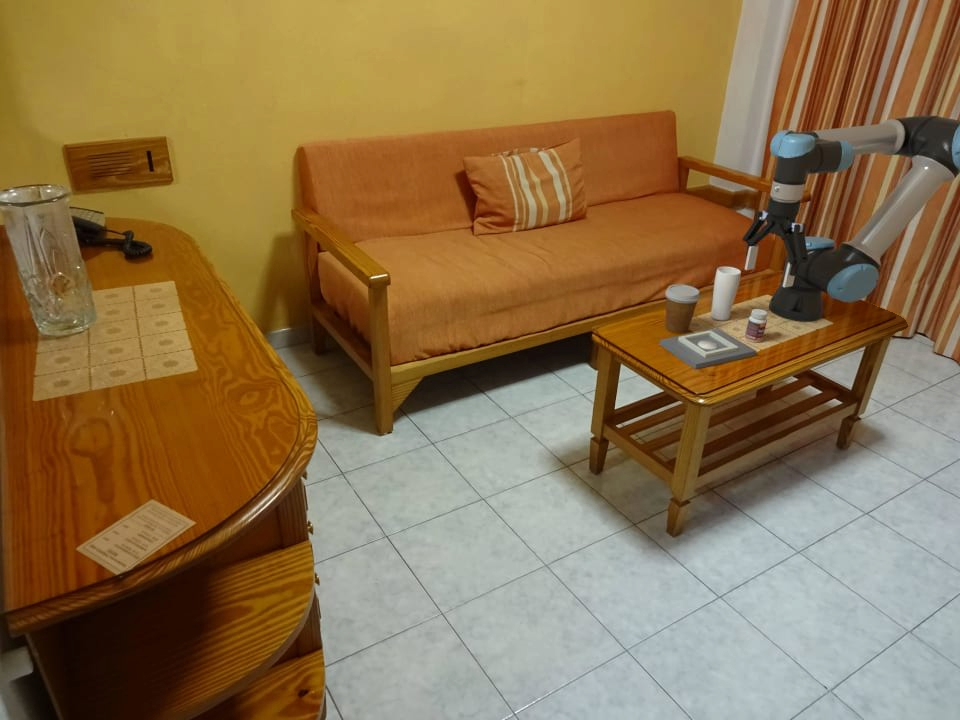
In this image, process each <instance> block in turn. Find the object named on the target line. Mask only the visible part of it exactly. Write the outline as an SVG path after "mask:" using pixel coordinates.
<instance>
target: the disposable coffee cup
mask: <svg viewBox="0 0 960 720" xmlns="http://www.w3.org/2000/svg"><path fill="white" fill-rule="evenodd" d="M664 293H665V297H666V299H665V300H666V301H665V302H666V303H665V305H666V306H665V307H666V308H665V329H666V330H667V331H668V332H670V333H674V334H686V333H688V332H689V329H690V327H691V326H690V325H691V323H692V319H693V316H694V314H695V310H696V306H697V304H698V302H699V300H700V298H701V295H700V290H699V289H698V288H696V287H694V286H691V285H687V284H672V285H669V286H668V288H667V289H666V290H665V292H664Z"/></svg>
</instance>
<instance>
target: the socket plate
mask: <svg viewBox="0 0 960 720" xmlns="http://www.w3.org/2000/svg"><path fill="white" fill-rule="evenodd" d="M660 345H661V347H662V348H663V347H664V348H663V349H665V350H666V351H668V352H669V353H671V354H672V355H674V356H676V358H678V359H679V360H681V361H683V362H684V363H685V364H686V365H688V366H689V367H691V368H693V369H694V370H698V369H702V368H706V367H707V368H708V367H712V366H716V365H721V364H725V363H729V362H734V361H738V360H742V359H746V358H750V357H751V358H752V357H755V356H756V354H757V350H756V349H754V348H752V347H750V346H749V345H747V344H745V342H744V343H743V342H742V341H740V340H739V339H737V338H736V337H734V336H732V335H730V334H729V333H726V332H725V331H724V330H721V329H720V328H718V327H716V328H712V329H707V330H706V329H705V330H701V331H698V332H692V333H688V334H683V335H682V334H681V335H677V336H672V337H668V338H663V339H660V340H659V346H660Z"/></svg>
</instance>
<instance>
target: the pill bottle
mask: <svg viewBox="0 0 960 720" xmlns="http://www.w3.org/2000/svg"><path fill="white" fill-rule="evenodd" d="M767 317H768V312H767V311H766V310H764V309H761V308H755V309H752V310H751V314H750V316H749V317H748V321H747V325H746V329H745V334H744V339H745V340H746V341H748V342H751V343H761V342H762V341H763V339H764V336H765V331H766V327H767V323H768V320H767Z"/></svg>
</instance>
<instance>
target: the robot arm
mask: <svg viewBox="0 0 960 720" xmlns="http://www.w3.org/2000/svg"><path fill="white" fill-rule="evenodd" d="M769 146H770V147H769V151H770V153H771V155H772V156H773V157H774V158H776V164H775V167H774V169H775V170H774V174H773V178H772V184H771V189H770V198H769V199H768V201H767V202H768V203H767V207H766V210H760V211H759V210H758V211H757V212H756V218H755V219H754V221H753V222H752V223H751V225H750V226H749V228H748V230H747V231H746V232H745V234H744V236H743V237H742V241H743V242H745V243H746V245H747V248H746V253H745V256H746V260H745V266H744V270H745V271H749V270H755V267H756V262H757V258H758V251H759V247H760V246H759V245H758V244H759V243H760V242H761V241H763V239H764V238H766V237H767V236H768V235H769V234H772V235H775V236H777V237H780V239H781V240H782V241H783V243H784V246H785V249H786V252H787V253H786V254H787V255H786V259H785V264H784V269H783V272H782V278H781V279H780V280H781V281H780V284H779V285H778V287H777V289H776V290H775V292H774V293H773V295H772V297H771V298H770V301H769V305H768V309H769V311H771V312H772V313H773V314H774V315H777V316H778V317H781V318H785V319H787V320H792V321H798V322H814V321H818V320H820V319H821V318H822V316H823V314H824V313H823V312H824V310H825V309H824V304H823V293H825V294H826V295H829V296H830V297H831V298H833V299H835V300H839V301H841V302H844V303H852V302H858V301H860V300H862V299H865V298H866V297H867V296H869V295H870V294H871V293H872V292H873V290H874V289H875V288H876V287H877V284H878V280H879V278H880V274H879V271H878V270H879V269H880V268H881V267H882V263H881V257H882V256H883V255H884V254H885V252H887V250H888V249H889V248H890V246H892V244H893V243H894V242H895V240H897V239H898V237H899V235H901V234H902V232H903V231H904V230H905V229H906V228H907V226H909V224H910V222H912V220H913V219H914V218H915V217H916V215H918V214H919V212H920V211H921V210H922V208H924V206H925V205H926V204H927V202H928V201H930V199H931V198H932V196H934V194H935V193H937V191H938V190H939V189H940V187H942V185H943V184H946V183H949V182H950V183H951V182H953V181H955V179H956V178H957V177H958V175H960V120H959V119H954V118H948V117H947V118H946V117H942V116H938V115H927V114H926V115H915V116H908V117H907V116H906V117H899V118H891V119H890V118H889V119H887V120H885V121H883V122H882V123H879V124H878V123H877V124H870V125H869V124H867V125H860V126H859V125H858V126H847V127H840V128H838V127H837V128H830V129H827V128H826V129H818V130H811V131H810V130H807V131H794V130H788V129H784V130H780V131H778V132H777V133H775V135H774V136H773V137H772V139H771V142H770V144H769ZM878 153H880V154H881V155H883V156H900V157H905V158H906V157H907V158H911V164H912V167H911V168H910V170H909V171H908V172H907V173H906V174H905V175H904V176H903V177H902V179H901V180H900V181H899V183H898V184H897V185H896V186H895V188H893V190H892V191H891V192H890V193H889V195H888V196H887V197H886V198H885V200H883V202H882V203H881V204H880V206H879V207H878V208H877V210H875V212H874V213H873V214H872V215H871V217H869V219H868V220H867V221H866V222H865V223H864V225H863V226H862V227H861V229H860V230H859V231H858V232H857V233H856V235H855V236H854V237H853V238H852V239H851V240H848V241H844V242H843V241H842V243H841V244H840V245H839V246H838V247H837V249H835V247H836V241H835V240H834V239H831V238H827V237H823V236H806V235H805V234H806V233H805V231H806V224H805V223H798V222H797V223H796V217H797V216H798V215H799V211H800V208H801V203H802V202H801V201H800V200H802V199H803V195H804V190H805V185H806V182H807V178H808V175H811V174H812V175H814V174H815V175H816V174H831V173H832V174H835V173H838V172H844V171H846V170H848V169H849V168H850V167H851V165H852V164H853V162H854V159H855V156H861V155H870V154H878ZM765 222H766V224H765V225H764V223H765ZM763 225H764V226H763Z"/></svg>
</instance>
